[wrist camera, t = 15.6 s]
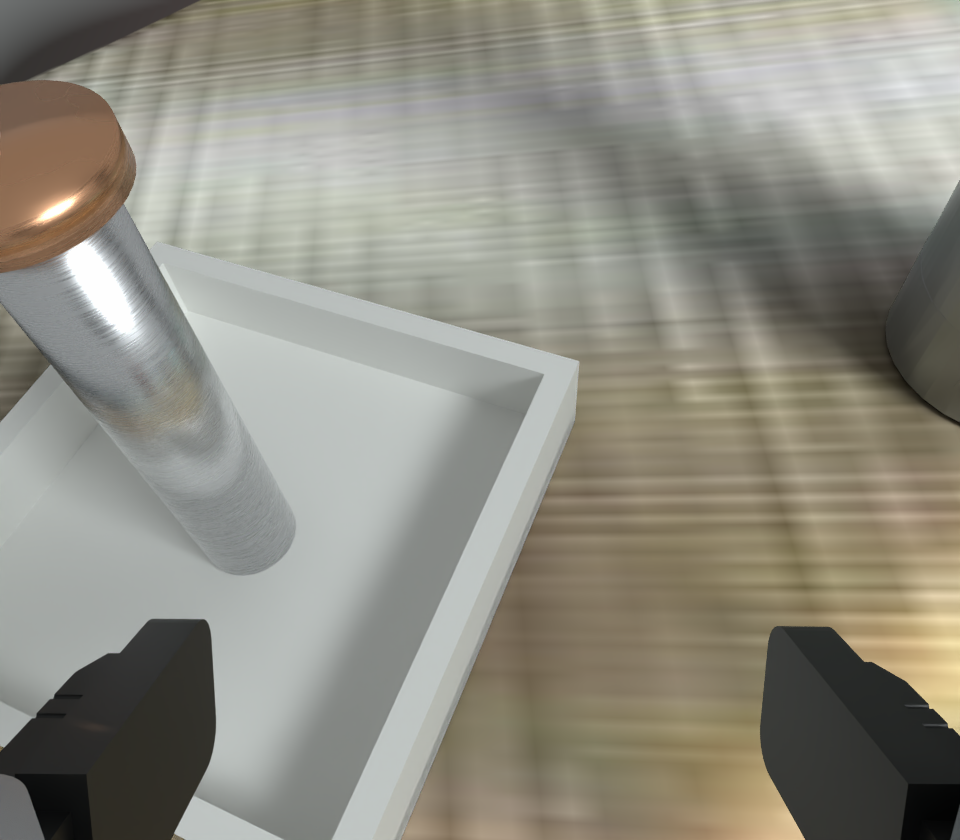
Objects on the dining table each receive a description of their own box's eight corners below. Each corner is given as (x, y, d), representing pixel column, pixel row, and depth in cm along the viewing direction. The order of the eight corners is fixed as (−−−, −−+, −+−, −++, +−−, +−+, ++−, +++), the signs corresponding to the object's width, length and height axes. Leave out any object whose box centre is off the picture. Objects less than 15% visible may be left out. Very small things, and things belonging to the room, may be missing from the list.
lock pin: (231, 461, 32) (-15, 64, 18) (337, 499, 31) (162, 103, 17) (160, 567, 30) (-185, 204, 16) (272, 613, 28) (6, 262, 14)
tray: (189, 304, 38) (157, 241, 35) (574, 421, 34) (579, 361, 30) (-112, 684, 29) (-195, 647, 26) (365, 924, 24) (338, 916, 21)
